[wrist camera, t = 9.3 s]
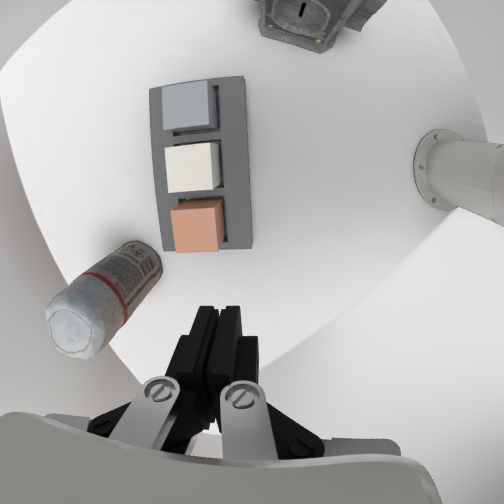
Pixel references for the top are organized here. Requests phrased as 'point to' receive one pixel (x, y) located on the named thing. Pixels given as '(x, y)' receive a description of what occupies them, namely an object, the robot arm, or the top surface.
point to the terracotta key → (198, 225)
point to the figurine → (313, 20)
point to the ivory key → (193, 167)
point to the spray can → (102, 300)
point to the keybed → (232, 158)
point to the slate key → (189, 107)
